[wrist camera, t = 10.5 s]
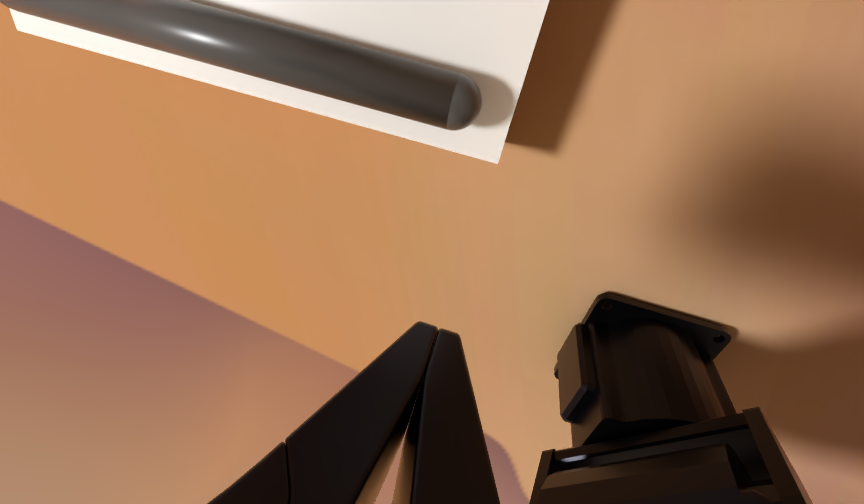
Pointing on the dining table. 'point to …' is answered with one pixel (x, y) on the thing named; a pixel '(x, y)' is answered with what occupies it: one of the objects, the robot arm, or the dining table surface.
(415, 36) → the panel
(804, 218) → the dining table surface
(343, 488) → the robot arm
